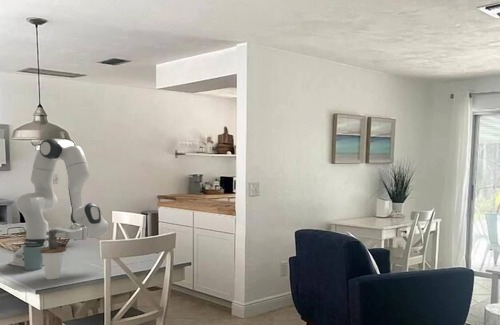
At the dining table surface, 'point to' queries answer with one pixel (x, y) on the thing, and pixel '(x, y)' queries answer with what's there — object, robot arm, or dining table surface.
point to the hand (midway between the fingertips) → (51, 234)
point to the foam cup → (52, 264)
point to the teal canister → (33, 257)
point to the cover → (52, 244)
